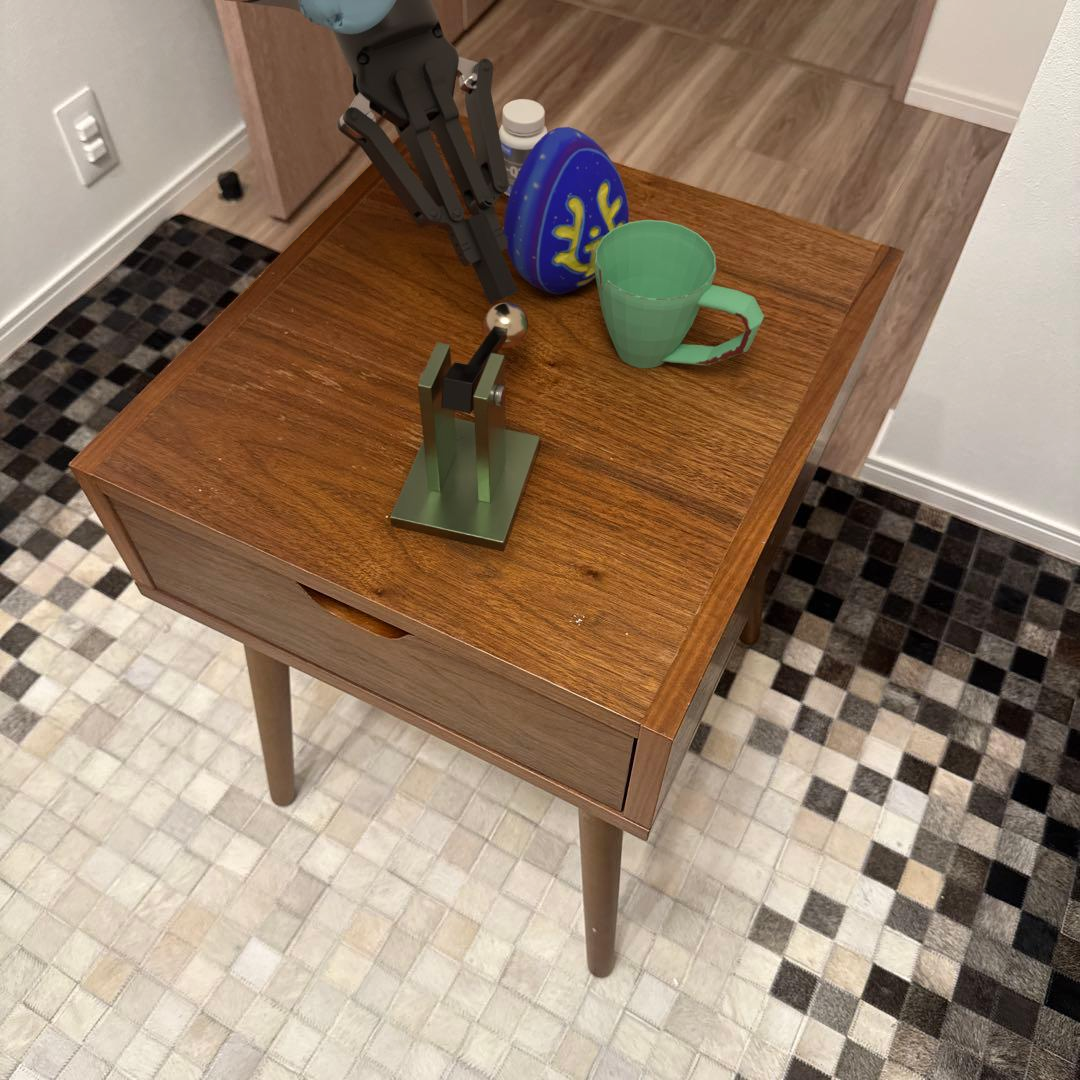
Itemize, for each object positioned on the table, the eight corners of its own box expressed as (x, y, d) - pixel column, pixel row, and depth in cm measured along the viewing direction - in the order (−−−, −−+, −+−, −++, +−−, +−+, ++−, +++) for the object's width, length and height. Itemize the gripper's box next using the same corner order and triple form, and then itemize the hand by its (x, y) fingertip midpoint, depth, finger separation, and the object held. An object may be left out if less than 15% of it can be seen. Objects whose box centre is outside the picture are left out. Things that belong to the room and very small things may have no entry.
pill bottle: (491, 193, 107) (489, 117, 100) (511, 167, 109) (510, 91, 102) (534, 206, 106) (536, 130, 99) (553, 179, 108) (556, 103, 101)
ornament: (544, 329, 96) (548, 186, 83) (483, 274, 100) (478, 130, 87) (637, 279, 100) (654, 135, 87) (575, 228, 104) (583, 84, 92)
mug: (567, 361, 93) (572, 271, 85) (620, 296, 98) (630, 205, 90) (720, 428, 89) (741, 339, 81) (767, 356, 94) (791, 266, 86)
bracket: (435, 423, 89) (424, 305, 78) (540, 445, 88) (543, 328, 77) (391, 526, 83) (373, 413, 72) (503, 551, 81) (502, 440, 71)
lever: (488, 333, 89) (492, 291, 87) (530, 341, 88) (535, 300, 86) (430, 413, 76) (433, 367, 74) (479, 423, 76) (483, 377, 74)
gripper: (431, -12, 84) (550, 274, 90) (281, 39, 79) (417, 336, 85) (466, -54, 77) (592, 258, 83) (304, -1, 72) (450, 325, 78)
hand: (503, 297), depth 84 cm, fingers closed
